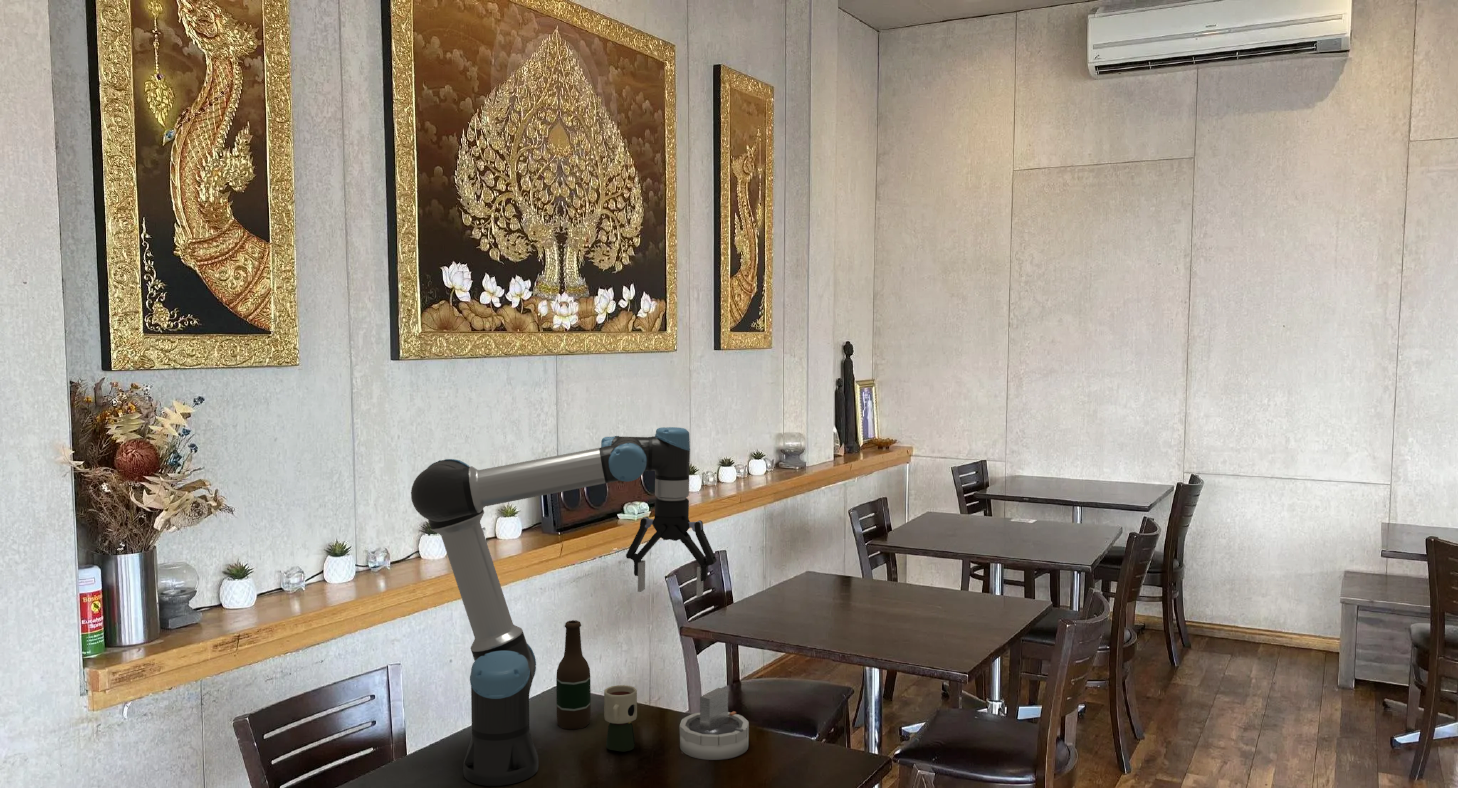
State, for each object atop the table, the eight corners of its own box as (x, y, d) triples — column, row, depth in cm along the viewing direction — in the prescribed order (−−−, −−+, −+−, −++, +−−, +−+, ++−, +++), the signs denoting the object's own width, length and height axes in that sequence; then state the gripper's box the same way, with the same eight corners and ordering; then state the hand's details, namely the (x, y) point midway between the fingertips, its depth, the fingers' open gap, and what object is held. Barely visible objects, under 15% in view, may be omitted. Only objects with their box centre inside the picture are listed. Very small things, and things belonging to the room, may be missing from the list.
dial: (720, 745, 218) (720, 705, 218) (679, 733, 225) (678, 695, 224) (749, 728, 227) (749, 690, 227) (708, 718, 234) (708, 681, 233)
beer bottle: (556, 718, 242) (555, 617, 241) (589, 716, 244) (589, 616, 242) (557, 731, 235) (556, 627, 233) (591, 728, 236) (590, 625, 235)
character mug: (631, 759, 219) (631, 699, 218) (598, 758, 220) (598, 698, 219) (641, 740, 230) (641, 682, 229) (610, 738, 230) (610, 681, 230)
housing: (665, 748, 225) (665, 724, 224) (708, 727, 237) (708, 704, 236) (721, 765, 216) (721, 740, 215) (762, 742, 228) (762, 718, 227)
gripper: (731, 498, 228) (729, 593, 229) (624, 492, 234) (623, 584, 235) (722, 503, 221) (720, 601, 222) (612, 496, 227) (611, 592, 228)
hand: (670, 593), depth 229 cm, fingers open, 13 cm apart
